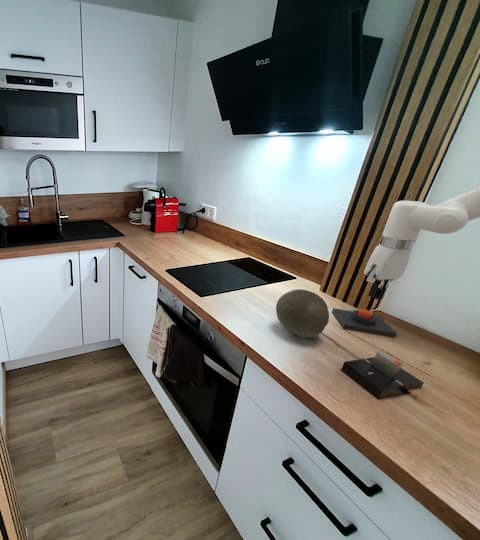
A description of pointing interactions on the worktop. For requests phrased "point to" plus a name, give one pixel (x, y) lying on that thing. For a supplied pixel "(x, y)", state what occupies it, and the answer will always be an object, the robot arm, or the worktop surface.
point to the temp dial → (386, 364)
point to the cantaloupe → (302, 313)
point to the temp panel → (380, 379)
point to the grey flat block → (363, 323)
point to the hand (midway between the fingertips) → (374, 297)
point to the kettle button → (365, 313)
